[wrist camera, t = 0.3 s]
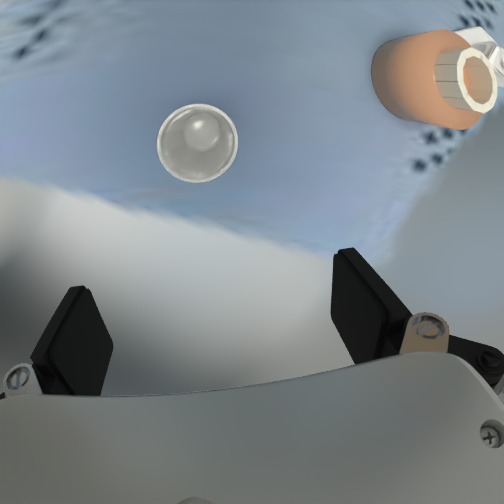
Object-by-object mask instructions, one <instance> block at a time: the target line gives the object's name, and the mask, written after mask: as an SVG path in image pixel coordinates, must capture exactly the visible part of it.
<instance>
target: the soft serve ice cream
mask: <svg viewBox="0 0 504 504" xmlns="http://www.w3.org/2000/svg"><path fill="white" fill-rule="evenodd" d="M453 32H454V33H456V34H458V35H460V36H461V37H462V38H464V39H465V40H466V41H467V42H468V43H469V44H470V45H471V47H472V48H474V49H476V50H479V51H481V52H482V53H483V54H484V55H485V56H486V58H487V59H488V60H489V62H490V63H491V64H492V67H493V70H494V73H495V76H496V80H497V87H504V48H501V47H499V46H498V44H497V43H496V42H495V41H494V40H493V39H492V38H491V37H490V36H489V35H488V34H487V33H486V32H485V31H484V30H483V29H482V28H481V27H471V28H466V29H462V30H458V31H453Z"/></svg>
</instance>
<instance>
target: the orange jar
mask: <svg viewBox="0 0 504 504" xmlns="http://www.w3.org/2000/svg"><path fill="white" fill-rule="evenodd" d="M371 76H372V82H373V86H374V89H375V92H376V94H377V96H378V98H379V99H380V101H381V102H382V104H383V105H384V106H385V107H386V109H387V110H389V111H390V112H391V113H392V114H394V115H395V116H397V117H399V118H401V119H405V120H410V121H416V122H422V123H427V124H433V125H438V126H443V127H448V128H452V129H457V130H463V129H467V128H470V127H472V126H473V125H474V124H475V123H477V121H478V120H479V119H480V117H481V116H482V114H483V113H486V112H487V111H489V110H490V109H491V108H492V107H493V106H494V103H495V100H496V97H497V80H496V76H495V73H494V70H493V67H492V64H491V63H490V62H489V60H488V59H487V58H486V56H485V55H484V54H483V53H482V52H481V51H479V50H476V49H474V48H472V47H471V45H470V44H469V43H468V42H467V41H466V40H465V39H464V38H462V37H461V36H460V35H458V34H456V33H454V32H452V31H449V30H435V31H430V32H425V33H420V34H416V35H411V36H407V37H403V38H399V39H395V40H391V41H388V42H386V43H384V44H383V45H382V46H381V47H380V48H379V49H378V50H377V52H376V53H375V55H374V58H373V61H372V67H371Z"/></svg>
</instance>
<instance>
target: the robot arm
mask: <svg viewBox="0 0 504 504" xmlns="http://www.w3.org/2000/svg"><path fill="white" fill-rule="evenodd" d="M332 280H333V281H332V296H331V318H332V321H333V323H334V324H335V326H336V328H337V330H338V332H339V334H340V336H341V338H342V340H343V342H344V344H345V346H346V348H347V350H348V351H349V354H350V356H351V357H352V359H353V361H354V363H355V365H351V366H347V367H343V368H339V369H334V370H330V371H326V372H320V373H316V374H311V375H307V376H302V377H296V378H291V379H285V380H280V381H274V382H268V383H262V384H255V385H248V386H242V387H234V388H226V389H217V390H208V391H198V392H187V393H174V394H158V395H136V396H135V395H134V396H100V394H101V390H102V387H103V383H104V379H105V376H106V372H107V369H108V365H109V361H110V358H111V355H112V351H113V342H112V339H111V337H110V335H109V333H108V331H107V329H106V326H105V324H104V322H103V320H102V317H101V315H100V313H99V310H98V308H97V306H96V303H95V301H94V298H93V296H92V293H91V291H90V290H89V289H86V287H85V286H75V287H70V288H69V290H68V292H67V293H66V295H65V296H64V298H63V300H62V301H61V303H60V305H59V306H58V308H57V310H56V311H55V313H54V315H53V317H52V318H51V320H50V322H49V323H48V325H47V327H46V329H45V330H44V332H43V334H42V336H41V338H40V340H39V342H38V344H37V345H36V347H35V349H34V351H33V353H32V355H31V357H30V358H31V359H32V361H33V365H32V366H31V365H29V364H25V363H23V364H19V365H16V366H14V367H13V368H12V369H10V370H9V372H8V373H7V374H6V376H5V377H4V381H3V388H4V392H3V393H2V394H1V395H0V504H504V355H503V354H502V352H501V351H499V350H498V349H496V348H494V347H491V346H488V345H484V344H481V343H477V342H474V341H470V340H466V339H463V338H459V337H456V336H452V335H449V326H448V325H447V322H446V321H445V320H443V318H441V317H439V316H438V315H435V314H432V313H425V312H424V313H418V314H415V315H412V314H411V312H410V311H409V310H408V309H407V307H406V306H405V305H404V304H403V303H402V302H401V300H400V299H399V298H398V297H397V296H396V294H395V293H394V292H393V291H392V290H391V289H390V287H389V286H388V285H387V284H386V283H385V282H384V281H383V279H381V277H380V276H379V275H378V274H377V273H376V272H375V270H374V269H373V268H372V267H371V266H370V265H369V264H368V263H367V261H366V260H365V259H364V258H363V257H362V256H361V255H360V254H359V253H358V252H357V250H356V249H355V248H346V249H340V250H338V254H334V257H333V279H332Z"/></svg>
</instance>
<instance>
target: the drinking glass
mask: <svg viewBox="0 0 504 504" xmlns="http://www.w3.org/2000/svg"><path fill="white" fill-rule="evenodd" d="M237 150H238V135H237V131H236V128H235V126H234V124H233V122H232V120H231V119H230V117H229V116H228V115H227V114H226V113H225V112H224V111H222V110H221V109H219V108H217V107H215V106H213V105H209V104H203V103H196V104H190V105H186V106H183V107H181V108H179V109H177V110H176V111H174V112H173V113H172V114H170V115H169V116H168V117H167V118H166V120H165V121H164V122H163V124H162V126H161V128H160V130H159V133H158V137H157V152H158V156H159V158H160V161H161V163H162V164H163V166H164V167H165V169H166V170H167V171H168V172H169V173H170V174H172V175H173V176H175V177H176V178H178V179H180V180H183V181H186V182H191V183H202V182H207V181H210V180H213V179H215V178H217V177H219V176H220V175H222V174H223V173H224V172H225V171H226V170H227V169H228V168H229V167H230V166H231V164H232V163H233V161H234V159H235V156H236V154H237Z"/></svg>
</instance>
